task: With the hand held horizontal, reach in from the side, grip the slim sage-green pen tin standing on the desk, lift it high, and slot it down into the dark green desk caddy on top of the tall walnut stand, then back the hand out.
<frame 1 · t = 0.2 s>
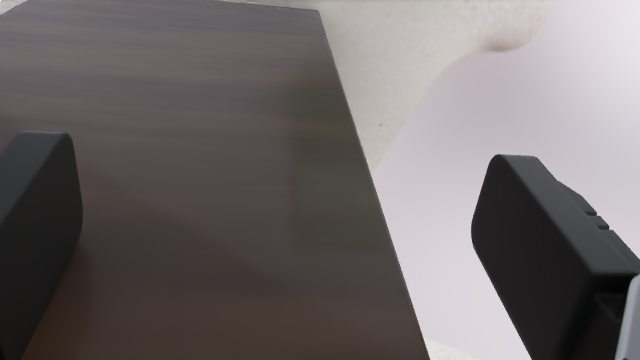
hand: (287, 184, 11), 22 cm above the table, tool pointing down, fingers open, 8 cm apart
stand: (191, 85, 32), on the table
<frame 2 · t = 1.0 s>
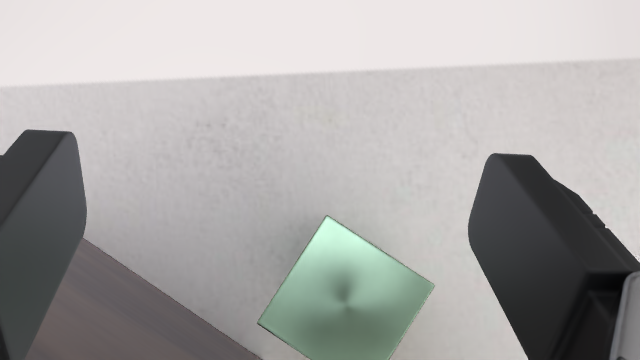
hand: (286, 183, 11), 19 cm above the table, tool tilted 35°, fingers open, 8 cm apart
pen tin: (341, 276, 29), on the table
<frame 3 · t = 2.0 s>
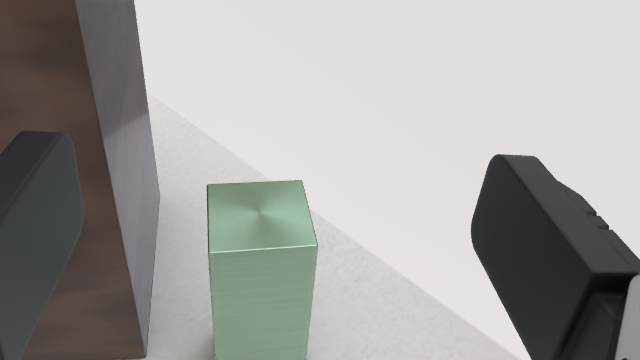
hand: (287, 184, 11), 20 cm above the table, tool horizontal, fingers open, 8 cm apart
stand: (72, 269, 34), on the table
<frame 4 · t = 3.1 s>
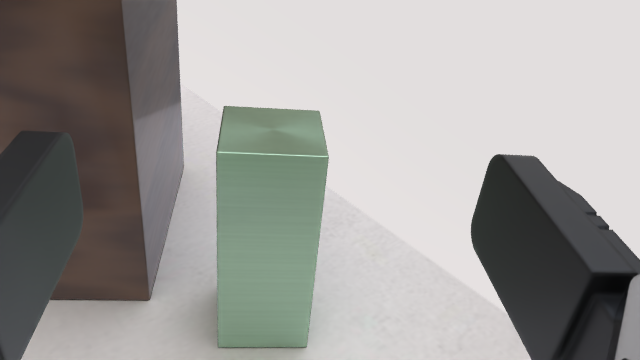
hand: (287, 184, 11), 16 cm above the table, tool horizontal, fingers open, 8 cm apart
pen tin: (262, 315, 29), on the table
stand: (88, 220, 34), on the table
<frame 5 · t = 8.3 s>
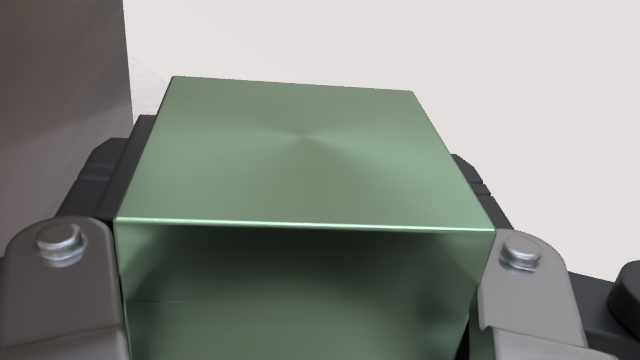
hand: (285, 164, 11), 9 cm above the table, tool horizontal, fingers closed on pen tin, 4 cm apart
when the fingers open (36 cm above the table, at t = 18.3 s): pen tin stays where it is, resting on caddy.
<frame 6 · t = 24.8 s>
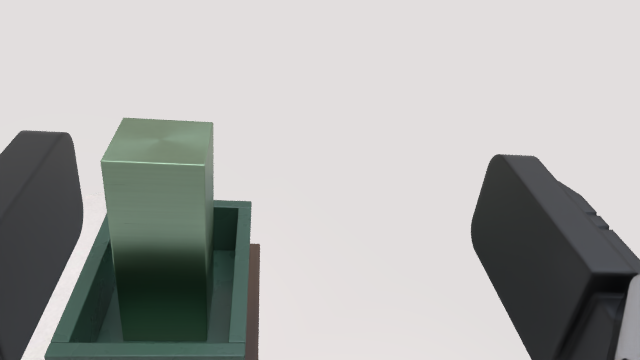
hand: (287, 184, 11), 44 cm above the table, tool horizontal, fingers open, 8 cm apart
pen tin: (171, 311, 31), point 26 cm above the table, touching caddy
caddy: (171, 316, 31), resting on stand
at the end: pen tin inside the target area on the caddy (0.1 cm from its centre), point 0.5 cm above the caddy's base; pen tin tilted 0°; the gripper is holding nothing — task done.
